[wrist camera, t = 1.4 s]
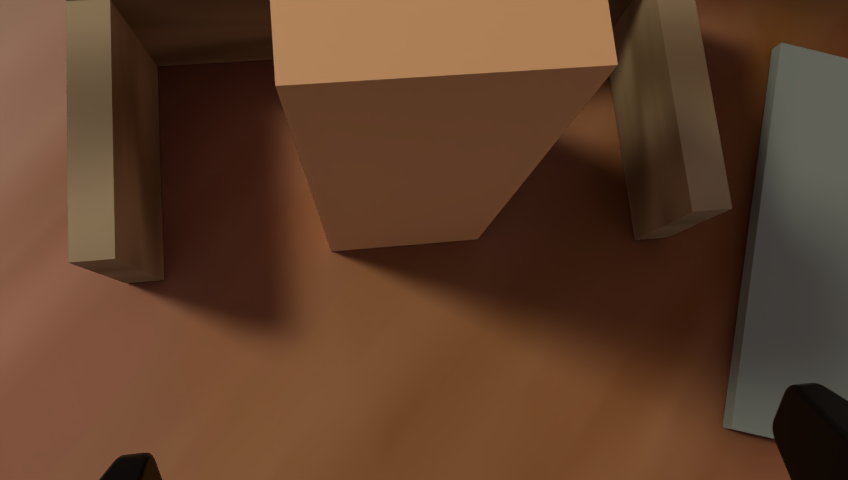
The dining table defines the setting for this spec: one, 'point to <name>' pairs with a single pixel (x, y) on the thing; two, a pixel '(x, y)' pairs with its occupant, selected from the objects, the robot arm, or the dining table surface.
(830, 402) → the robot arm
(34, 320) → the dining table surface
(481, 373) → the dining table surface
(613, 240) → the dining table surface
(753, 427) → the slate mat
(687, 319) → the dining table surface
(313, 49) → the tan block
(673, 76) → the beige u-shaped block
